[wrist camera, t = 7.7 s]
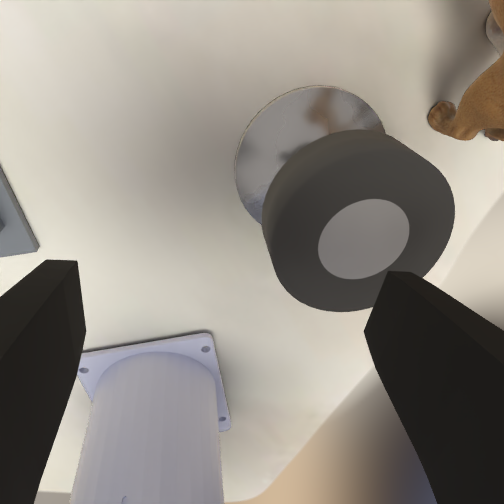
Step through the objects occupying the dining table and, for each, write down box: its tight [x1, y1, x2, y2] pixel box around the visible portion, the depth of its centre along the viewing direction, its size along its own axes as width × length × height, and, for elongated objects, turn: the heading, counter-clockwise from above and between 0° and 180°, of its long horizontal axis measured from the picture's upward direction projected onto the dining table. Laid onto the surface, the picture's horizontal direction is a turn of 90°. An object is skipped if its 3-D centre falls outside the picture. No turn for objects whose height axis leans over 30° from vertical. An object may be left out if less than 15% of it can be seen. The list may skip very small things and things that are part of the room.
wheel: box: [262, 129, 455, 312], centre depth 13 cm, size 6×6×2 cm
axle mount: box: [235, 86, 385, 225], centre depth 17 cm, size 7×7×2 cm
